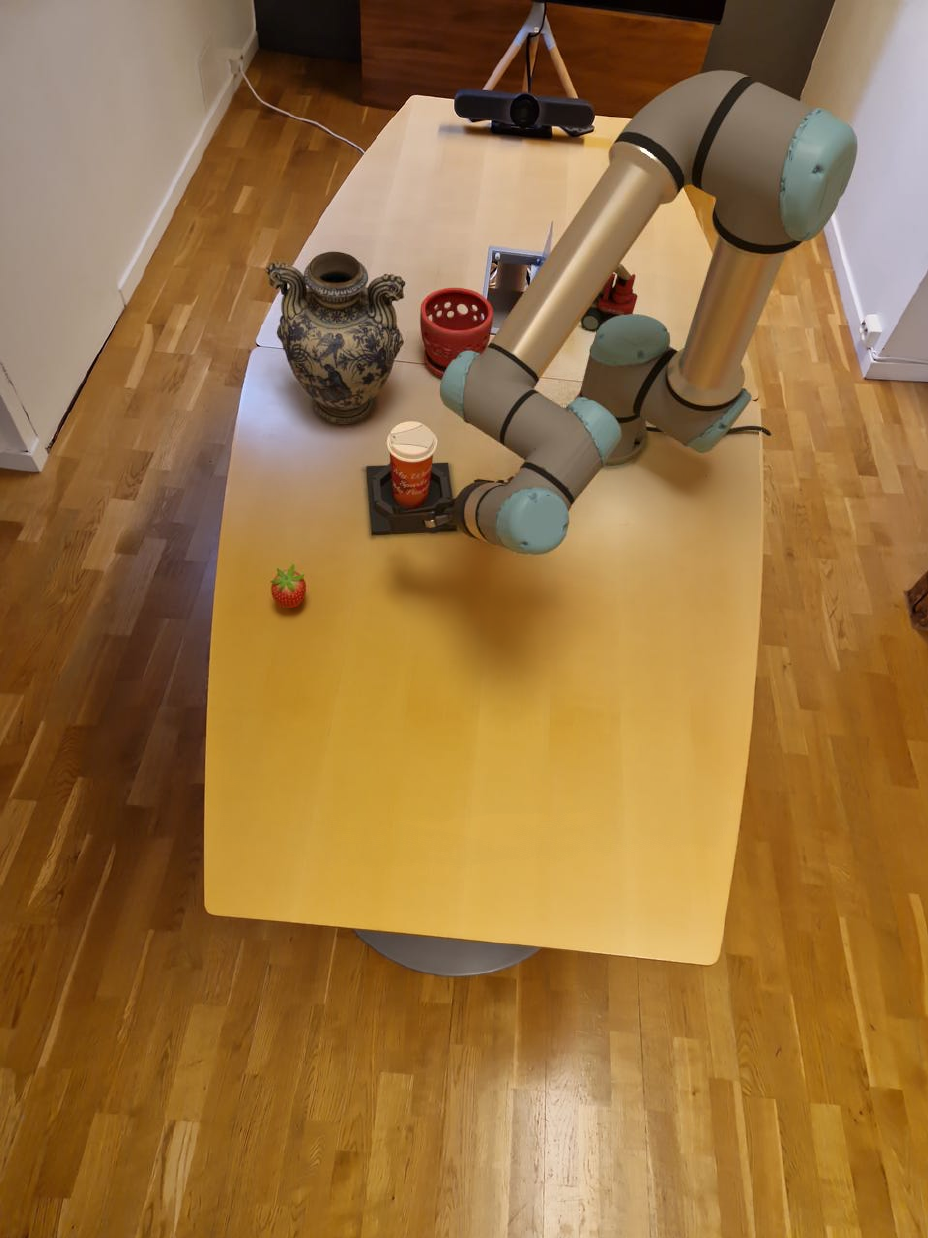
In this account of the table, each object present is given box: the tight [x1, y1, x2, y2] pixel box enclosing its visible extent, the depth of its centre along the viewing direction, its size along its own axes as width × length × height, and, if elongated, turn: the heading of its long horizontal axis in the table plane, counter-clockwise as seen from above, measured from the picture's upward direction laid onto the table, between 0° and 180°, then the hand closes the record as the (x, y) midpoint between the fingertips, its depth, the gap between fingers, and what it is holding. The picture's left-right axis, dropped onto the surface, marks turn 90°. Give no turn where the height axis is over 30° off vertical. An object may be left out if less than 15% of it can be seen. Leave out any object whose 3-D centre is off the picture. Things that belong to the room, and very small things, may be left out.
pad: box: [365, 462, 458, 536], centre depth 136 cm, size 14×14×3 cm
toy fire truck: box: [580, 263, 638, 332], centre depth 156 cm, size 11×16×18 cm
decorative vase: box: [265, 251, 406, 425], centre depth 135 cm, size 21×19×28 cm
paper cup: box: [386, 420, 438, 509], centre depth 130 cm, size 8×8×14 cm
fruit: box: [270, 563, 307, 608], centre depth 122 cm, size 5×5×8 cm
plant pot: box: [419, 287, 494, 377], centre depth 150 cm, size 13×13×12 cm
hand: (437, 500), depth 123 cm, fingers open, 13 cm apart
